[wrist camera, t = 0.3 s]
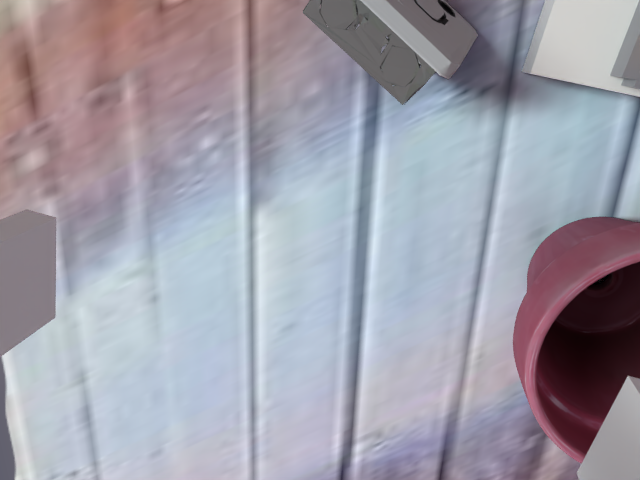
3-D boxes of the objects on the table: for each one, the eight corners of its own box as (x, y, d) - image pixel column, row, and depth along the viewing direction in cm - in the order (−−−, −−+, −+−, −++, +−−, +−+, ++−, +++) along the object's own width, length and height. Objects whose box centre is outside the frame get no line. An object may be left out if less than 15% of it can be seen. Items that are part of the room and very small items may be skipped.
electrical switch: (480, 34, 34) (485, 41, 25) (424, 94, 36) (412, 120, 28) (374, -68, 33) (344, -93, 25) (324, 1, 35) (282, -1, 27)
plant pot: (719, 335, 37) (858, 466, 25) (521, 376, 41) (560, 506, 29) (682, 150, 34) (823, 203, 22) (469, 216, 38) (490, 290, 26)
